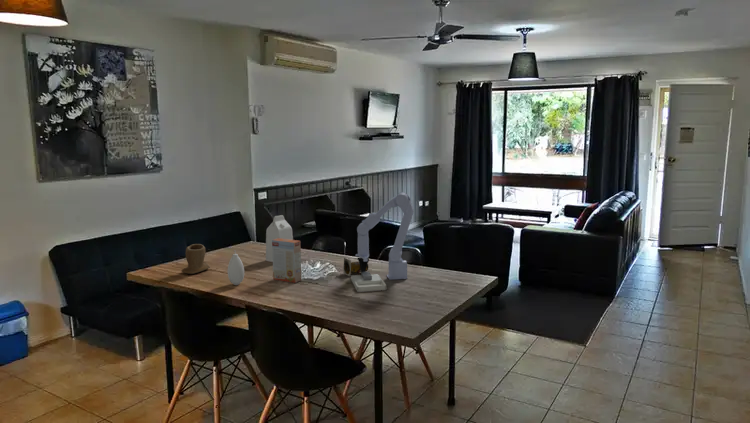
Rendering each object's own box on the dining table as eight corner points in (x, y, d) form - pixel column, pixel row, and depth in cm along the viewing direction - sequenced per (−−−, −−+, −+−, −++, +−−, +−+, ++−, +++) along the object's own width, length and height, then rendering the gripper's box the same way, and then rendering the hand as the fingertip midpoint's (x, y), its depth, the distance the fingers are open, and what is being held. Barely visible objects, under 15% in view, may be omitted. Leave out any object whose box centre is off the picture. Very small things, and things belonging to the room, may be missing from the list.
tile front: (370, 277, 272) (370, 273, 271) (371, 279, 268) (371, 276, 267) (362, 278, 271) (362, 274, 271) (363, 280, 267) (363, 276, 267)
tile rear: (368, 275, 276) (368, 271, 276) (370, 277, 272) (370, 273, 272) (361, 275, 275) (361, 271, 275) (362, 277, 271) (362, 273, 271)
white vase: (239, 281, 273) (237, 246, 270) (247, 284, 267) (246, 249, 264) (225, 284, 267) (223, 249, 264) (233, 287, 262) (231, 251, 259)
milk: (280, 256, 323) (279, 213, 319) (294, 259, 316) (293, 215, 312) (265, 260, 313) (264, 216, 309) (279, 263, 307) (278, 218, 302)
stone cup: (194, 276, 281) (192, 248, 278) (178, 273, 287) (176, 246, 284) (216, 269, 294) (214, 243, 291) (200, 267, 300) (199, 240, 297)
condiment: (350, 276, 281) (369, 273, 288) (350, 260, 280) (370, 258, 286) (343, 273, 287) (362, 270, 293) (343, 257, 286) (362, 255, 292)
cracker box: (302, 280, 274) (301, 240, 270) (294, 283, 269) (293, 242, 265) (280, 276, 281) (279, 237, 277) (272, 279, 275) (271, 239, 272)
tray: (382, 284, 267) (382, 279, 267) (386, 290, 258) (386, 285, 257) (354, 285, 265) (354, 281, 264) (357, 291, 255) (357, 287, 255)
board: (378, 277, 278) (378, 274, 278) (382, 284, 268) (382, 280, 267) (351, 279, 276) (351, 275, 275) (354, 285, 265) (354, 281, 265)
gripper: (353, 243, 284) (353, 268, 287) (357, 249, 270) (357, 275, 273) (366, 242, 286) (366, 267, 288) (371, 249, 272) (371, 275, 274)
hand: (363, 271), depth 280 cm, fingers closed
